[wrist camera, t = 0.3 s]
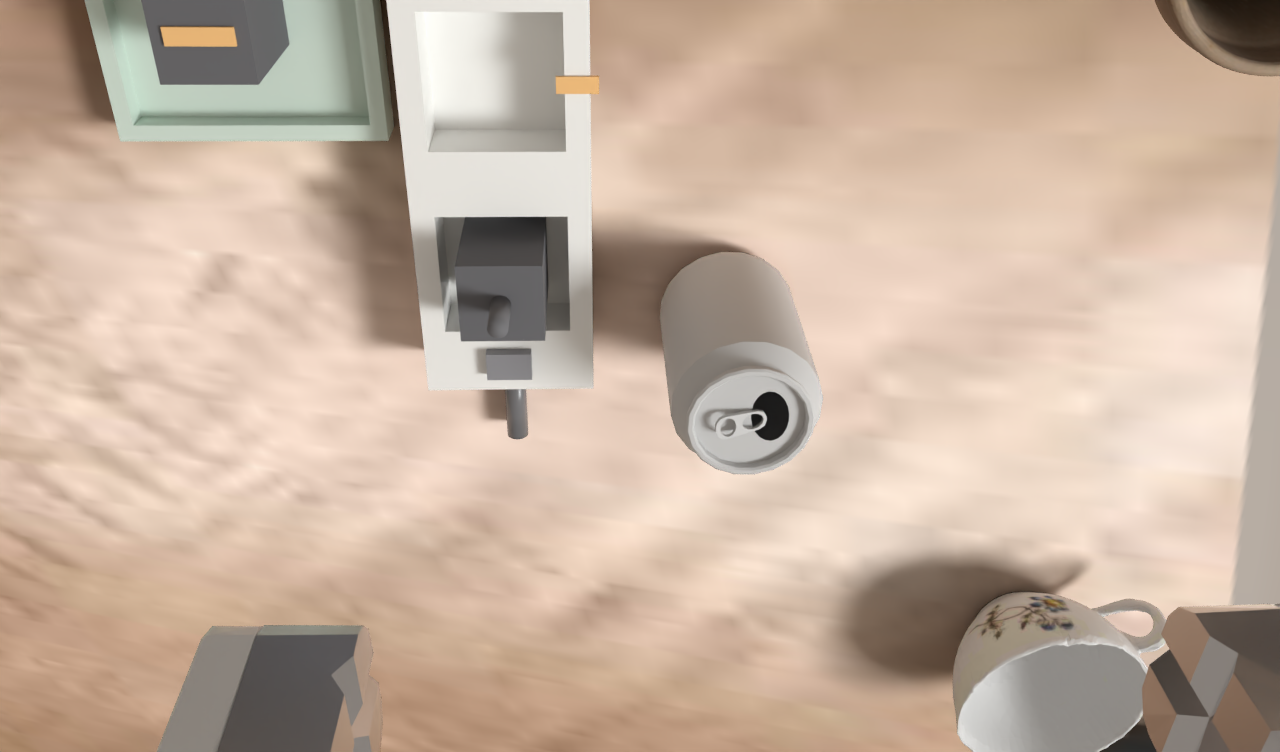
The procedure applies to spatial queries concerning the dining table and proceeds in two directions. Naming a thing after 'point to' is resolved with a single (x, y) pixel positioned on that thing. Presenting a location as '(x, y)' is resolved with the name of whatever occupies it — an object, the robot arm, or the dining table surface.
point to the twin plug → (502, 279)
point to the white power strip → (498, 175)
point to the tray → (273, 110)
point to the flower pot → (1229, 32)
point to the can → (738, 364)
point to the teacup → (1050, 675)
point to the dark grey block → (215, 40)
